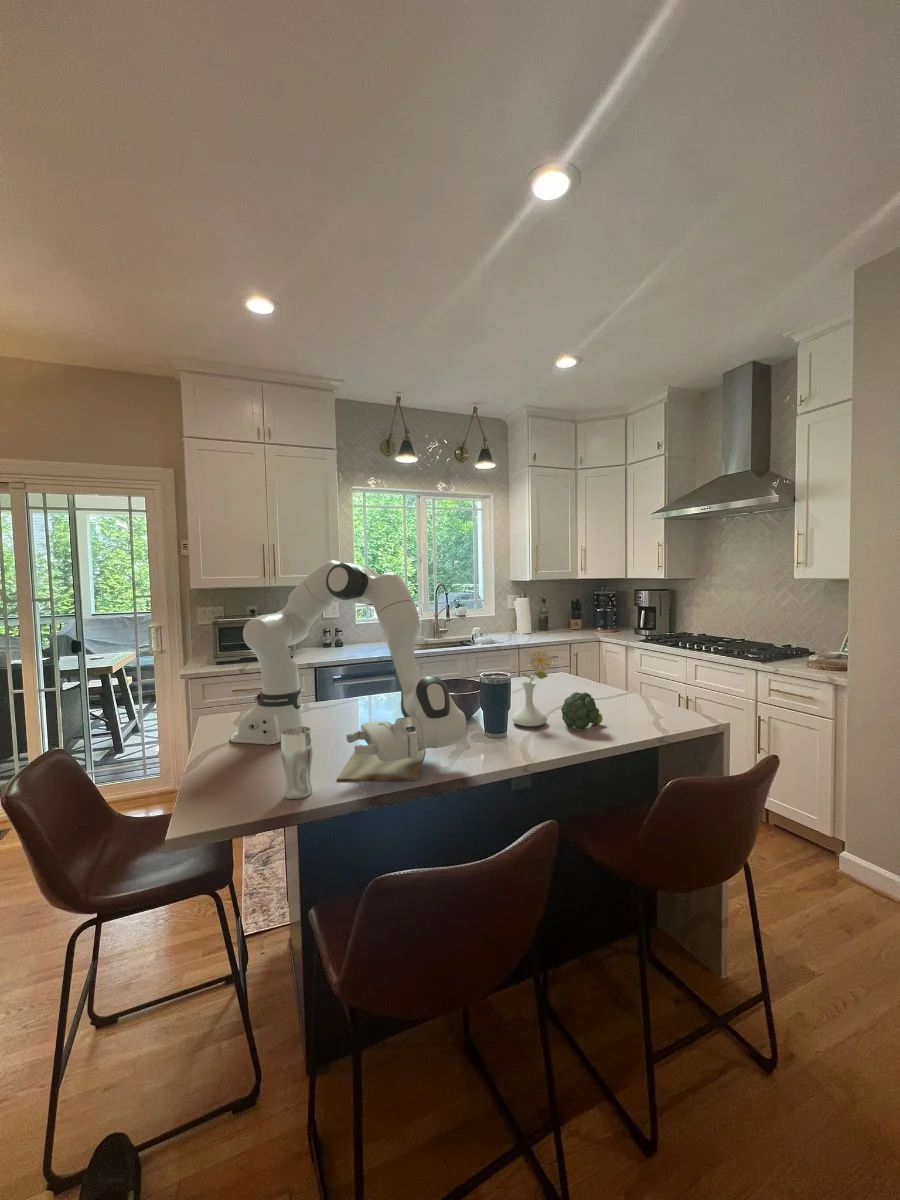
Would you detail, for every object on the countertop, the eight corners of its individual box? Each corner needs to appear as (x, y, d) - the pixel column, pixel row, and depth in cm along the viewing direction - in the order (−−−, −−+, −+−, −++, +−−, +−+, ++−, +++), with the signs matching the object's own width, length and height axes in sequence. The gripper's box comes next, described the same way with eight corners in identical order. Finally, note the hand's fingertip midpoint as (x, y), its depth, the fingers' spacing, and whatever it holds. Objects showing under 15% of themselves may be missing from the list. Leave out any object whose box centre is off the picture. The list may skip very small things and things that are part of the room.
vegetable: (620, 723, 154) (588, 709, 147) (590, 746, 160) (558, 733, 153) (604, 694, 164) (574, 679, 157) (577, 716, 169) (547, 703, 162)
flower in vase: (513, 729, 158) (512, 652, 156) (510, 719, 169) (509, 646, 168) (554, 729, 157) (554, 651, 156) (549, 718, 169) (548, 645, 167)
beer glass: (276, 796, 114) (273, 732, 113) (300, 785, 120) (298, 724, 119) (296, 803, 110) (293, 737, 109) (320, 791, 116) (318, 728, 115)
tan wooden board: (336, 781, 122) (336, 778, 122) (355, 751, 142) (355, 749, 141) (417, 780, 121) (417, 778, 121) (425, 751, 141) (425, 749, 141)
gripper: (393, 712, 134) (341, 720, 128) (418, 734, 115) (359, 744, 110) (394, 735, 134) (343, 744, 129) (419, 760, 115) (360, 772, 110)
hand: (350, 744), depth 119 cm, fingers open, 8 cm apart
